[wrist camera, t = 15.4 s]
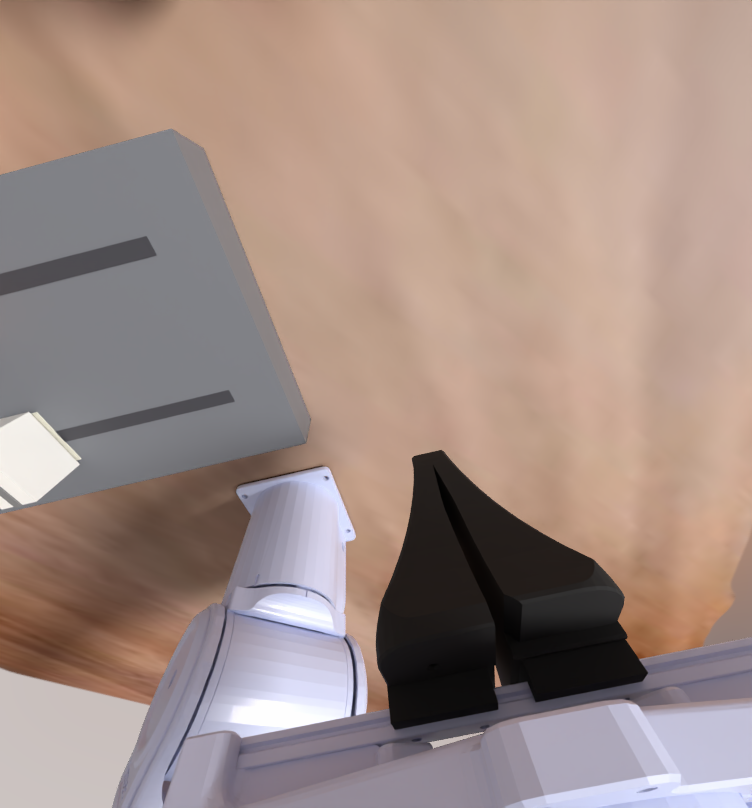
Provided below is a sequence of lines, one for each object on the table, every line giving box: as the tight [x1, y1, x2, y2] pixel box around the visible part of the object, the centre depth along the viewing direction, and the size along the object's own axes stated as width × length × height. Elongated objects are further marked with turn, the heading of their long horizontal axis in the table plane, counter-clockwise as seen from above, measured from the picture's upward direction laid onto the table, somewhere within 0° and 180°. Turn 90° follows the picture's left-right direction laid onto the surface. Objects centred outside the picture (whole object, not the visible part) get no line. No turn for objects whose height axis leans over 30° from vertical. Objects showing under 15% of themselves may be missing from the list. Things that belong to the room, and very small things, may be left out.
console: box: [0, 129, 311, 514], centre depth 17 cm, size 16×24×3 cm, turn 102°
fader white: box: [0, 412, 80, 510], centre depth 16 cm, size 4×2×3 cm, turn 12°
